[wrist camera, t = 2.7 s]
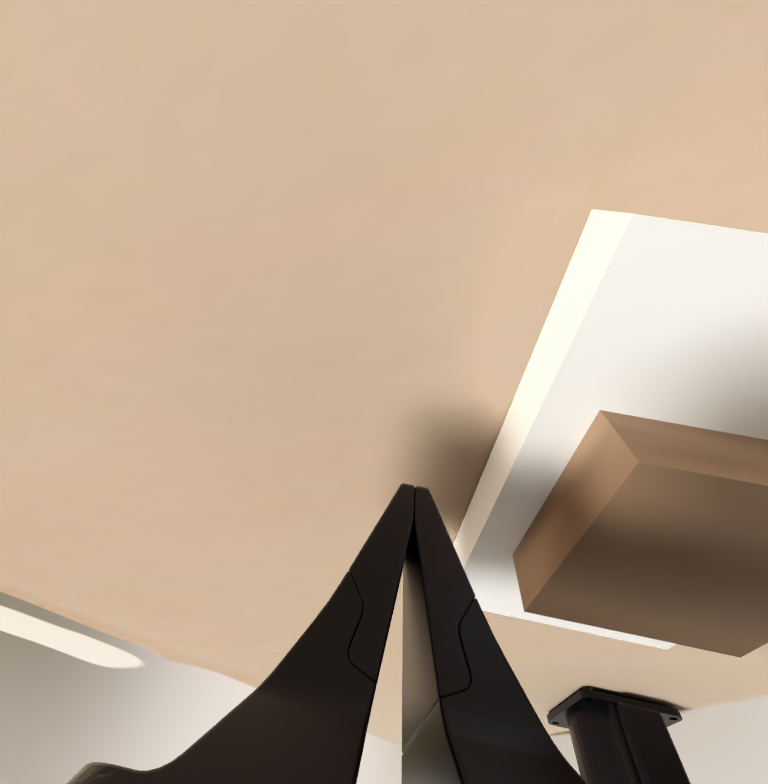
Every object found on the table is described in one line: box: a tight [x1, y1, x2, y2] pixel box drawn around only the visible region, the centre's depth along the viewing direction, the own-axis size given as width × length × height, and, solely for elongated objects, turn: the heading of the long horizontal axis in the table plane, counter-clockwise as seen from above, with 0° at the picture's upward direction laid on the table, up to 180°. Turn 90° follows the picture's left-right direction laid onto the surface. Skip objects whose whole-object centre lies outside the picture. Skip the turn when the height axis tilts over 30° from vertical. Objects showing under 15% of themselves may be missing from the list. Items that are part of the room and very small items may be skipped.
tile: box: [512, 410, 768, 657], centre depth 10 cm, size 7×7×2 cm
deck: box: [453, 209, 768, 650], centre depth 11 cm, size 16×10×2 cm, turn 173°
